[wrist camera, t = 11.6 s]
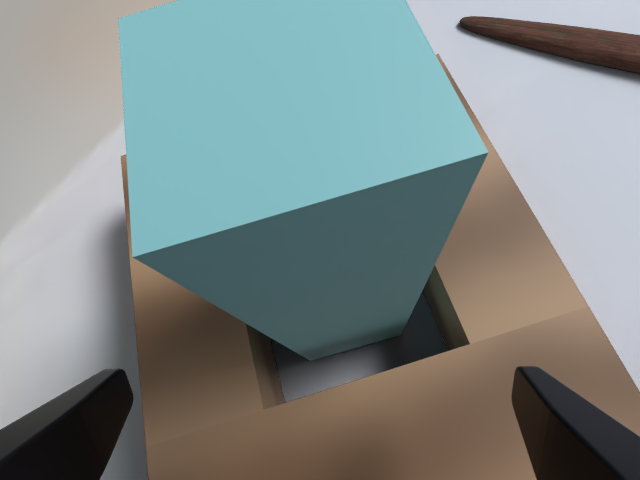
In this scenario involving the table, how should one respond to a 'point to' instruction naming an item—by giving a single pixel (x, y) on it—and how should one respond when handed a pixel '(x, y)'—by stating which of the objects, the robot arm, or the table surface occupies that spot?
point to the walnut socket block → (389, 386)
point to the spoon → (563, 40)
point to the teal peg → (294, 161)
